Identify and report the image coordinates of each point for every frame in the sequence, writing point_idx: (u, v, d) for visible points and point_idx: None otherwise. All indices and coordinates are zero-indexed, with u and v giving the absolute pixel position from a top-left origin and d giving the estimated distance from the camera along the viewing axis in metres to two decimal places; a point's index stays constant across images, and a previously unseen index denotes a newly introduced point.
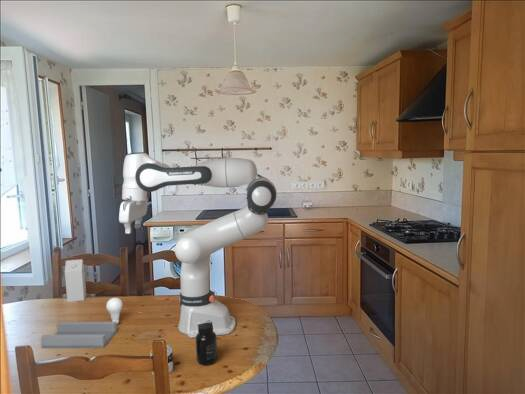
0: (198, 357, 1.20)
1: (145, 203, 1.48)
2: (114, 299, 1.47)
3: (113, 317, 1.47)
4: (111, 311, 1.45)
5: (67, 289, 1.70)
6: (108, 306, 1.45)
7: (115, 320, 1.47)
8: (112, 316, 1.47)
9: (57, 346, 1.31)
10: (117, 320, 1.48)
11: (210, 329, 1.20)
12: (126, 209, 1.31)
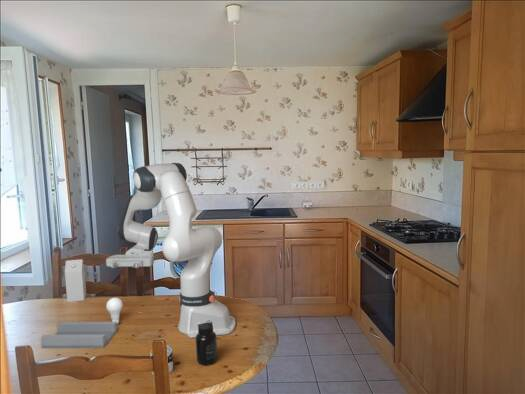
0: (198, 357, 1.20)
1: (148, 255, 1.67)
2: (114, 299, 1.47)
3: (113, 317, 1.47)
4: (111, 311, 1.45)
5: (67, 289, 1.70)
6: (108, 306, 1.45)
7: (115, 320, 1.47)
8: (112, 316, 1.47)
9: (57, 346, 1.31)
10: (117, 320, 1.48)
11: (210, 329, 1.20)
12: None
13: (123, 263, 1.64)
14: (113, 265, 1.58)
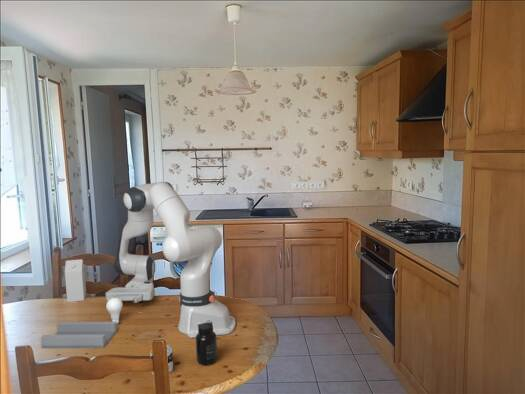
0: (198, 357, 1.20)
1: (148, 288, 1.66)
2: (114, 299, 1.47)
3: (113, 317, 1.47)
4: (111, 311, 1.45)
5: (67, 289, 1.70)
6: (108, 306, 1.45)
7: (115, 320, 1.47)
8: (112, 316, 1.47)
9: (57, 346, 1.31)
10: (117, 320, 1.48)
11: (210, 329, 1.20)
12: None
13: (123, 297, 1.62)
14: None
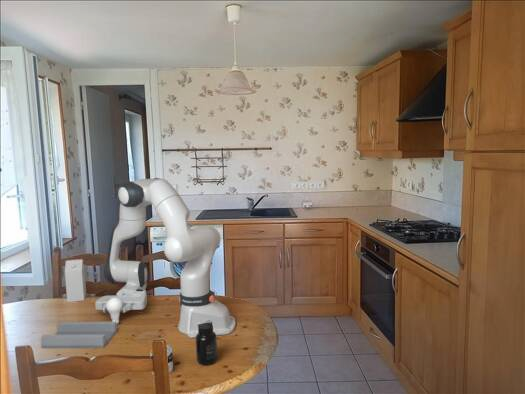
0: (198, 357, 1.20)
1: (140, 296, 1.56)
2: (114, 299, 1.47)
3: (113, 317, 1.47)
4: (111, 311, 1.45)
5: (67, 289, 1.70)
6: (108, 306, 1.45)
7: (115, 320, 1.47)
8: (112, 316, 1.47)
9: (57, 346, 1.31)
10: (117, 320, 1.48)
11: (210, 329, 1.20)
12: None
13: None
14: (105, 310, 1.47)
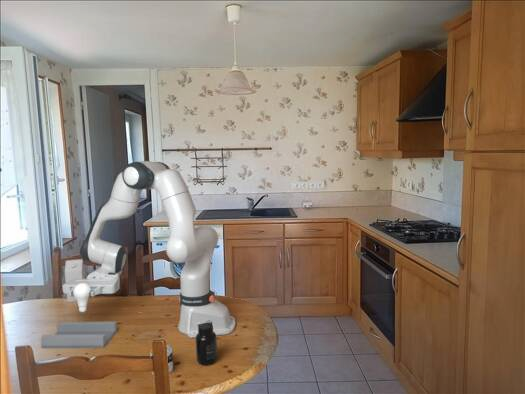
0: (198, 357, 1.20)
1: (112, 280, 1.45)
2: (82, 284, 1.36)
3: (80, 304, 1.35)
4: (78, 297, 1.34)
5: None
6: (75, 291, 1.34)
7: (82, 307, 1.36)
8: (79, 303, 1.35)
9: (57, 346, 1.31)
10: (84, 307, 1.37)
11: (210, 329, 1.20)
12: None
13: None
14: (72, 293, 1.36)
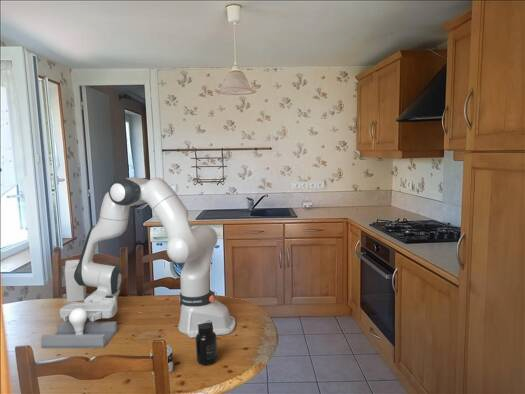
0: (198, 357, 1.20)
1: (109, 304, 1.44)
2: (78, 310, 1.35)
3: (76, 329, 1.35)
4: (74, 323, 1.33)
5: (67, 289, 1.70)
6: (71, 318, 1.33)
7: (79, 333, 1.35)
8: (75, 328, 1.35)
9: (57, 346, 1.31)
10: (81, 333, 1.36)
11: (210, 329, 1.20)
12: None
13: None
14: (66, 318, 1.35)
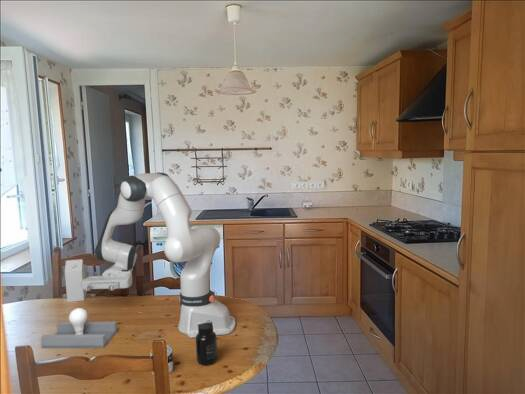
0: (198, 357, 1.20)
1: (125, 276, 1.60)
2: (78, 310, 1.34)
3: (76, 329, 1.35)
4: (74, 323, 1.33)
5: (67, 289, 1.70)
6: (71, 318, 1.33)
7: (79, 333, 1.35)
8: (75, 328, 1.35)
9: (57, 346, 1.31)
10: (81, 333, 1.36)
11: (210, 329, 1.20)
12: None
13: (99, 285, 1.56)
14: (87, 288, 1.51)
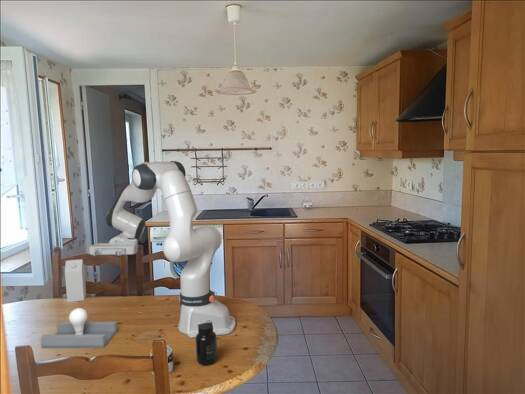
0: (198, 357, 1.20)
1: (131, 243, 1.66)
2: (78, 310, 1.34)
3: (76, 330, 1.35)
4: (74, 323, 1.33)
5: (67, 289, 1.70)
6: (71, 318, 1.33)
7: (79, 333, 1.35)
8: (75, 328, 1.35)
9: (57, 346, 1.31)
10: (81, 333, 1.36)
11: (210, 329, 1.20)
12: None
13: (106, 251, 1.62)
14: (95, 253, 1.57)
